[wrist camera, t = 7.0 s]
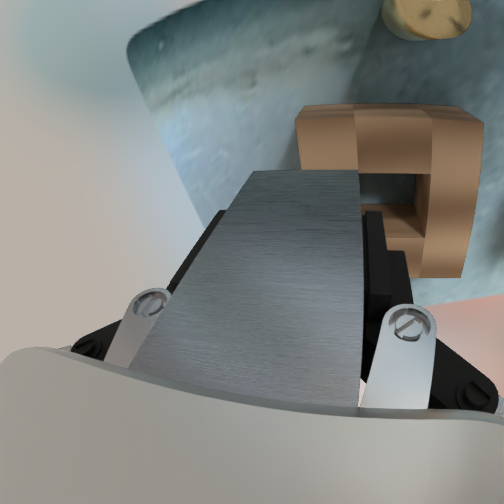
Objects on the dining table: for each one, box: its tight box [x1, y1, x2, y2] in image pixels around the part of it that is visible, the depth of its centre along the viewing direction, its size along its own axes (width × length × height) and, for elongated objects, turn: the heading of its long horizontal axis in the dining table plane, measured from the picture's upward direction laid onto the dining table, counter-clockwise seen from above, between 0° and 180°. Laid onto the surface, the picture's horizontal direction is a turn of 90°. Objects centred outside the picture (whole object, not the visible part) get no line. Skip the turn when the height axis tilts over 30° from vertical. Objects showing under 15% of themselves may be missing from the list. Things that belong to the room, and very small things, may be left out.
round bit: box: [381, 0, 472, 41], centre depth 15 cm, size 5×5×9 cm
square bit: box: [127, 170, 364, 407], centre depth 9 cm, size 4×4×10 cm
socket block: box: [295, 103, 484, 278], centre depth 25 cm, size 14×14×6 cm
